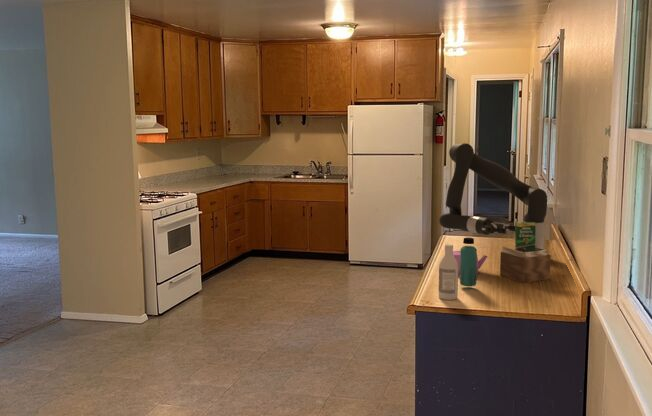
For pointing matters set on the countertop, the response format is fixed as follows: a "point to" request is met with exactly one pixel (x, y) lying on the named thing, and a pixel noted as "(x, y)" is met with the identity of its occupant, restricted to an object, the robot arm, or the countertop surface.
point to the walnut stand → (525, 265)
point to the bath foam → (448, 275)
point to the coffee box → (525, 236)
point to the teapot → (480, 262)
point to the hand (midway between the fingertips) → (511, 230)
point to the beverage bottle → (468, 263)
